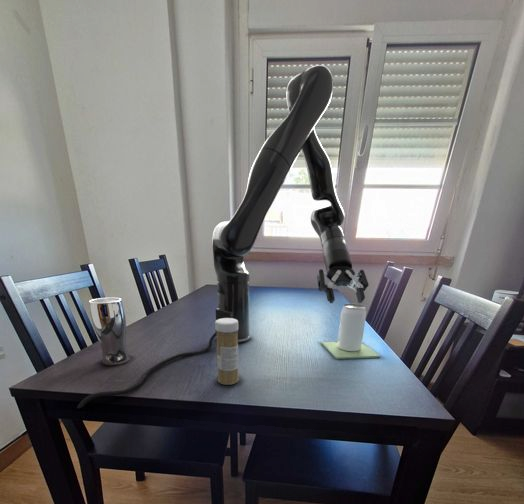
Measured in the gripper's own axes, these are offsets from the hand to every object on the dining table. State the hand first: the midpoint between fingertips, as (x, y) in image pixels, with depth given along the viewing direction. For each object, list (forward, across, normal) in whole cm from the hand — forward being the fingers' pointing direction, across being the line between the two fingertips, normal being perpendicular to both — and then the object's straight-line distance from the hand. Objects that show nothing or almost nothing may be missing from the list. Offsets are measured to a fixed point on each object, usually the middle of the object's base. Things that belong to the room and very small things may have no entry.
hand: (347, 301), depth 79 cm
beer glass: (+14, -61, +4) cm, 63 cm away
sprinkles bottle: (+24, -34, -5) cm, 42 cm away
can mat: (+12, 0, +6) cm, 14 cm away
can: (+12, 0, +6) cm, 13 cm away
